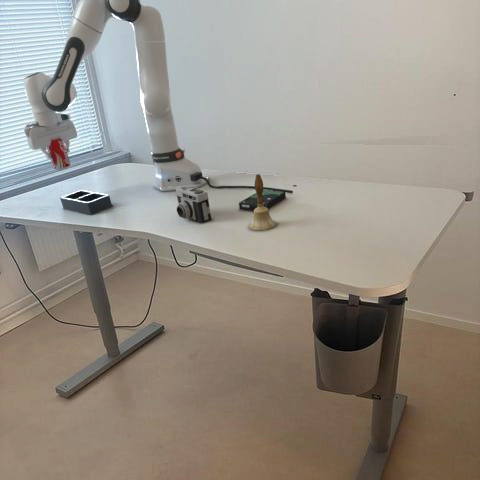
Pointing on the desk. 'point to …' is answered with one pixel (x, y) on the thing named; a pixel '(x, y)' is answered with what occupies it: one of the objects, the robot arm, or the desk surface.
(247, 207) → the disk drive
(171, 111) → the robot arm
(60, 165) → the soda can
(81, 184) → the desk surface
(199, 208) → the camera
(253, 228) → the hand bell
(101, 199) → the open box
